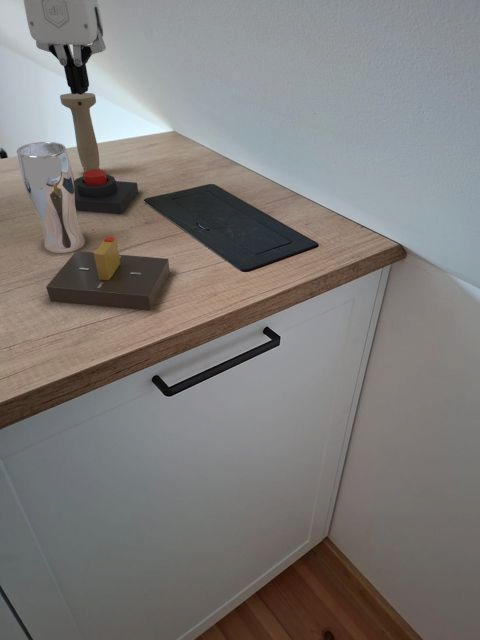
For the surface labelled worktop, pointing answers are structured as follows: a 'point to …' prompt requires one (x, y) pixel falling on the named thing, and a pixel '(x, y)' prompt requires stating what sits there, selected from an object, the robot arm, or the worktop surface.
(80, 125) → the handle
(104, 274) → the thumb turn
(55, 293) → the plate
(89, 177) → the button
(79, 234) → the beer glass
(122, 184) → the alarm box
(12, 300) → the worktop surface
